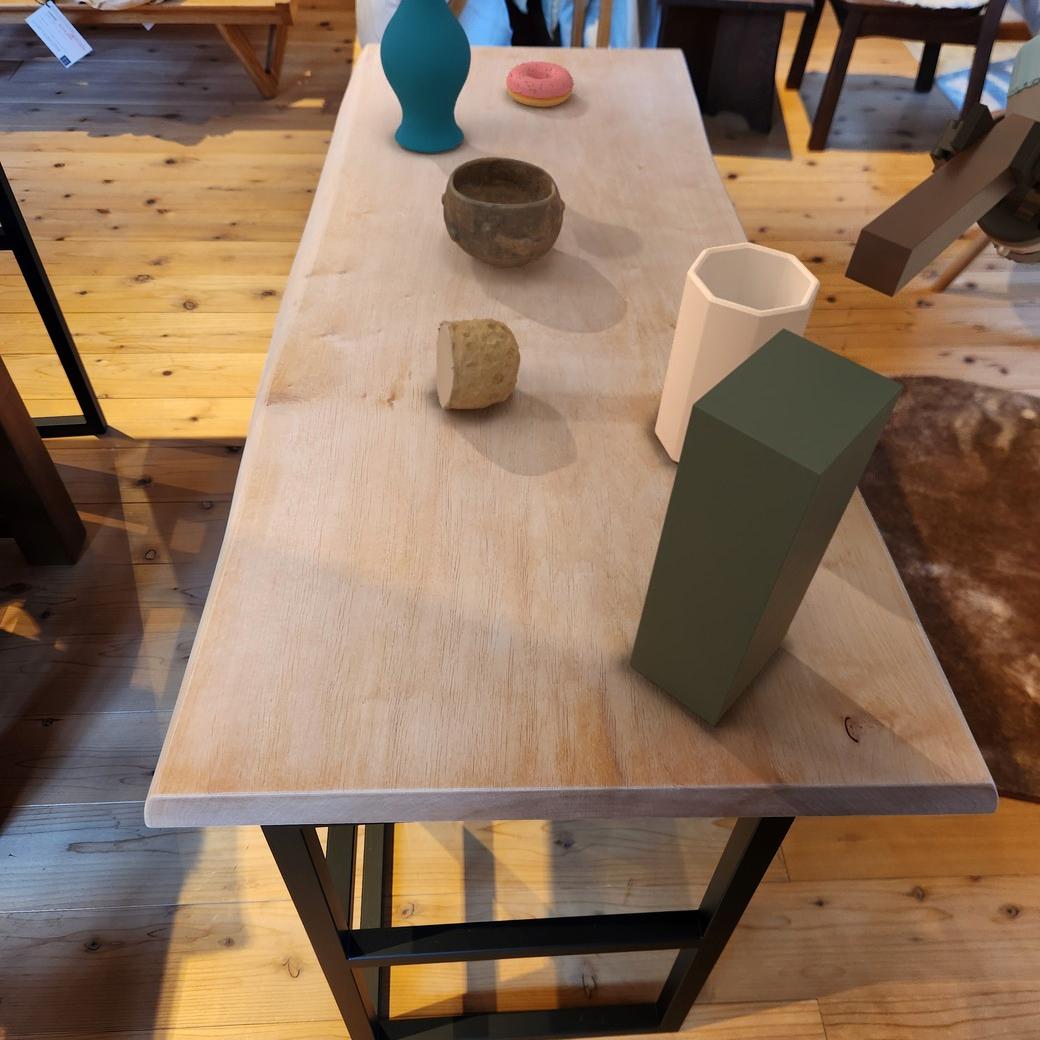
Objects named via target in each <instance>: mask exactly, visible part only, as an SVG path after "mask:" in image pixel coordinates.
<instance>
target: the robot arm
mask: <svg viewBox="0 0 1040 1040" xmlns="http://www.w3.org/2000/svg"><path fill="white" fill-rule="evenodd" d="M1011 113H1015V114H1018V115H1021V116H1024V117H1028V118H1031V119H1034V120H1037V121H1040V34H1038V35H1036V36H1034V37H1032V38H1031V39H1029V40H1027V41H1026V42H1025V43H1024V44H1023V45H1022V46H1021V47H1020V48H1019V50H1018V51H1017V53H1016V55H1015V59H1014V64H1013V66H1012V70H1011V74H1010V80H1009V85H1008V89H1007V93H1006V104H1005V113H1004V118H1006V117H1007V116H1008V115H1009V114H1011ZM1037 121H1035V122H1034V124H1033V126H1032V127H1031V129H1030V131H1029V132H1028V134H1027V136H1026V137H1025V139H1024V141H1023V143H1022V144H1021V146H1020V148H1019V149H1018V151H1017V153H1016V154H1015V156H1014V158H1013V160H1012V161H1011V163H1010V165H1009V167H1010V169H1011V171H1012V174H1013V176H1014V178H1015V180H1016V183H1017V186H1015V187H1014V188H1013V189H1012V190H1011V191H1010V192H1009V193H1008V194H1007V195H1005V196H1004V197H1003V198H1002V199H1001V200H1000V201H999V202H998V203H997V204H995V205H994V206H993V207H992V208H991V209H990V210H989V211H988V212H987V213H985V214H984V215H983V216H982V217H981V218H980V219H979V220H978V221H977V222H976V224H977V225H978V227H979V228H980V229H981V231H982V232H983V233H984V234H985V236H987V237H988V238H989V240H990V241H991V243H992V245H993V248H994V249H995V251H996V254H997V255H998V256H1000V257H1003V258H1005V259H1006V260H1007V261H1013V262H1014V263H1016V264H1023V265H1029V266H1030V265H1031V266H1034V265H1040V122H1037ZM996 124H997V123H996V122H995V120H994V118H993V115H992V112H991V111H990V108H989V106H988V105H987V104H984V103H981V102H977V101H974V104H973V106H972V107H971V109H970V111H969V112H968V114H967V116H966V118H965V120H961V121H960V120H957V119H954V118H953V119H948V120H947V122H946V123H945V125H944V127H943V129H942V131H941V132H940V134H939V136H938V138H937V139H936V141H935V144H934V145H933V147H932V148H931V150H930V152H929V157H930V158H931V161H932V163H933V165H934V166H933V168H932V170H931V173H932V174H933V173H935V172H936V171H937V170H938V169H940V168H941V167H942V166H944V165H945V164H946V163H947V162H949V161H950V160H951V159H953V158H954V157H955V156H957V155H958V154H959V153H960V152H962V151H963V150H964V149H966V148H967V147H968V146H969V145H971V144H972V143H973V142H975V141H976V140H977V139H978V138H980V137H981V136H982V135H984V134H985V133H986V132H987V131H989V130H990V129H991V128H993V127H994V126H995V125H996Z"/></svg>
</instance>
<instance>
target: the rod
mask: <svg viewBox="0 0 1040 1040" xmlns="http://www.w3.org/2000/svg"><path fill="white" fill-rule="evenodd" d="M1035 121H1037V120H1034V119H1031V118H1028V117H1024V116H1021V115H1018V114H1015V113H1011V114H1009V115H1008V116H1007V117H1006V118H1005V117H1004V118H1003V119H1001V120H1000V121H999V122H997V123H995V124H996V125H995V126H994V127H993V128H991V129H990V130H989V131H987V132H986V133H985V134H984V135H982V136H981V137H980V138H978V139H977V140H976V141H975V142H973V143H972V144H971V145H969V146H968V147H967V148H966V149H964V150H963V151H962V152H960V153H959V154H958V155H957V156H955V157H954V158H953V159H951V160H950V161H949V162H947V163H946V164H945V165H944V166H942V167H941V168H940V169H938V170H937V171H936V172H935V173H932V174H930V176H928V177H926V178H925V179H924V180H923V181H921V182H920V183H919V184H918V185H916V186H914V188H912V189H911V190H910V191H909V192H907V193H906V194H905V195H904V196H902V197H901V198H900V199H898V200H897V201H896V202H894V203H893V204H892V205H891V206H889V207H888V208H887V209H886V210H884V211H883V212H882V213H880V214H879V215H878V216H876V217H875V218H873V220H871V221H870V222H869V223H867V224H866V225H864V226H863V227H862V228H861V230H860V232H859V235H858V236H857V237H858V238H857V240H856V243H855V246H854V249H853V252H852V254H851V256H850V259H849V262H848V265H847V267H846V271H845V273H844V277H845V278H847V279H849V280H851V281H854V282H855V283H858V284H860V285H863V286H865V287H867V288H870V289H872V290H874V291H875V292H879V293H881V294H884V295H885V296H888V297H890V298H893V297H894V296H896V295H897V294H898V293H899V292H900V291H901V290H903V288H905V287H906V286H907V285H908V284H909V283H910V282H911V281H912V280H913V279H915V278H916V277H917V276H918V275H919V274H920V273H921V272H922V271H923V270H924V269H926V268H927V267H928V266H929V265H930V264H931V263H932V262H933V261H935V259H937V258H938V257H939V256H940V255H941V254H942V253H943V252H944V251H946V250H947V249H948V248H949V247H950V246H951V245H952V244H953V243H955V242H956V240H958V239H959V238H960V237H961V236H962V235H963V234H965V232H967V231H969V229H970V228H971V227H972V226H973V225H974V224H976V223H977V221H978V220H979V219H980V218H981V217H982V216H983V215H984V214H985V213H987V212H988V211H989V210H990V209H991V208H992V207H993V206H994V205H995V204H997V203H998V202H999V201H1000V200H1001V199H1002V198H1003V197H1004V196H1005V195H1007V194H1008V193H1009V192H1010V191H1011V190H1012V189H1013V188H1014V187H1015V186H1017V183H1016V180H1015V178H1014V176H1013V174H1012V171H1011V169H1010V167H1009V165H1010V163H1011V161H1012V160H1013V158H1014V156H1015V154H1016V153H1017V151H1018V149H1019V148H1020V146H1021V144H1022V143H1023V141H1024V139H1025V137H1026V136H1027V134H1028V132H1029V131H1030V129H1031V127H1032V126H1033V124H1034V122H1035ZM1037 122H1040V121H1037Z"/></svg>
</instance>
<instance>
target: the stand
mask: <svg viewBox="0 0 1040 1040" xmlns="http://www.w3.org/2000/svg"><path fill="white" fill-rule="evenodd" d="M904 388H905V385H904V384H902V383H900V382H897V381H896V380H894V379H891V378H889V377H887V376H885V375H883V374H880V373H878V372H876V371H874V370H872V369H870V368H867V367H865V366H863V365H862V364H860V363H858V362H855V361H853V360H851V359H849V358H847V357H844V356H842V355H841V354H839V353H836V352H834V351H832V350H830V349H828V348H826V347H825V346H822V345H819V344H818V343H816V342H814V341H811V340H810V339H807V338H805V337H804V336H803V337H801V336H799V335H797V334H795V333H792V332H790V331H788V330H786V329H784V328H783V329H782V330H781V331H779V332H778V333H777V334H776V335H775V336H773V337H772V338H771V339H770V340H769V341H768V342H766V343H765V344H764V345H763V346H762V347H760V348H759V349H758V350H757V351H756V352H755V353H753V354H752V355H751V356H750V357H749V358H747V359H746V360H745V361H744V362H743V363H741V364H740V365H739V366H738V367H737V368H736V369H734V370H733V371H732V372H731V373H730V374H728V375H727V376H726V377H725V378H724V379H722V380H721V381H720V382H719V383H718V384H717V385H715V386H714V387H713V388H712V389H711V390H709V391H708V392H707V393H706V394H705V395H703V396H702V397H701V398H700V399H699V400H698V401H696V402H695V403H694V404H693V406H692V410H691V414H690V418H689V422H688V426H687V430H686V435H685V439H684V443H683V447H682V451H681V455H680V459H679V462H677V463H678V464H677V467H676V472H675V475H674V480H673V483H672V488H671V491H670V492H671V493H670V497H669V500H668V505H667V507H666V513H665V517H664V521H663V526H662V529H661V534H660V538H659V541H658V546H657V549H656V554H655V557H654V558H655V559H654V562H653V566H652V571H651V575H650V577H649V582H648V587H647V590H646V595H645V599H644V603H643V607H642V610H641V614H640V619H639V623H638V628H637V631H636V636H635V639H634V643H633V648H632V652H631V655H630V659H629V660H630V661H629V664H628V665H629V666H630V667H632V668H633V669H634V670H636V671H637V672H638V673H640V674H641V675H642V676H644V677H645V678H647V679H648V680H649V681H651V682H652V683H654V685H657V686H658V687H659V688H660V689H662V690H663V691H664V692H666V693H667V694H669V695H670V696H671V697H672V698H674V699H675V700H677V701H678V702H679V703H681V704H682V705H683V706H685V707H686V708H687V709H689V710H690V711H692V712H693V713H694V714H696V715H697V716H698V717H700V718H701V719H702V720H704V721H705V722H707V723H708V724H710V725H711V726H712V727H715V726H716V725H717V724H718V723H719V722H720V720H721V719H722V717H724V715H725V714H726V713H727V712H728V710H729V709H730V708H731V707H732V706H733V704H734V703H735V702H736V701H737V700H738V698H739V697H740V696H741V695H742V694H743V692H744V691H745V690H746V688H747V687H748V686H749V685H750V684H751V682H752V681H753V680H754V679H755V677H756V676H757V675H758V674H759V673H760V671H761V670H762V669H763V668H764V667H765V666H766V664H767V663H768V662H769V661H770V659H771V658H772V656H773V655H774V654H775V653H776V652H777V651H778V649H780V647H781V646H782V644H783V642H784V640H785V637H786V635H787V633H788V631H789V629H790V627H791V625H792V624H793V621H794V619H795V617H796V615H797V612H798V610H799V608H800V607H801V604H802V602H803V600H804V598H805V596H806V594H807V592H808V589H809V588H810V585H811V583H812V581H813V579H814V577H815V575H816V572H817V570H818V569H819V566H820V564H821V562H822V560H823V558H824V557H825V554H826V552H827V550H828V548H829V546H830V543H831V542H832V539H833V538H834V535H835V532H837V528H838V526H839V524H840V523H841V520H842V518H843V516H844V514H845V512H846V511H847V508H848V505H849V504H850V502H851V500H852V497H853V495H854V493H855V491H856V489H857V487H858V485H859V482H860V480H861V479H862V477H863V474H864V472H865V470H866V468H867V466H868V464H869V462H870V459H871V457H872V456H873V453H874V452H875V450H876V447H877V445H878V443H879V441H880V440H881V439H880V438H881V437H882V435H883V433H884V430H885V428H886V426H887V424H888V422H889V421H890V420H889V419H890V418H891V416H892V413H893V411H894V410H895V407H896V405H897V403H898V401H899V399H900V396H901V394H902V392H903V391H904Z"/></svg>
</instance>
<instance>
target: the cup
mask: <svg viewBox="0 0 1040 1040" xmlns="http://www.w3.org/2000/svg"><path fill="white" fill-rule="evenodd" d="M820 287H821V282H820V280H819V279H818V278H817V277H816V276H815V275H814V274H813V273H812V272H811V271H810V270H809V269H808V268H807V267H806V266H805V265H804V264H803V263H802V262H801V261H800V259H799V258H798V257H797V256H796V255H794V254H793V253H789V252H785V251H781V250H777V249H774V248H770V247H767V246H763V245H759V244H756V243H753V242H740V243H733V244H727V245H720V246H719V245H718V246H713V247H708V248H705V249H703V250H702V251H701V253H699V255H698V256H697V258H696V260H694V262H693V264H691V266H690V267H689V269H688V271H687V273H686V278H685V282H684V288H683V292H682V293H683V294H682V297H681V303H680V308H679V311H678V318H677V321H676V326H675V331H674V337H673V339H672V340H673V341H672V344H671V345H672V346H671V349H670V350H671V351H670V355H669V361H668V365H667V370H666V374H665V379H664V385H663V390H662V394H661V399H660V403H659V404H660V405H659V407H658V408H659V409H658V413H657V418H656V423H655V427H654V433H655V435H656V436H657V438H658V439H659V442H660V443H661V444H662V446H663V448H664V449H665V451H666V452H667V454H668V456H669V457H670V459H671V460H672V461H673V462H676V463H679V459H680V455H681V451H682V447H683V443H684V439H685V435H686V430H687V426H688V422H689V418H690V414H691V410H692V406H693V404H694V403H695V402H696V401H698V400H699V399H700V398H701V397H702V396H703V395H705V394H706V393H707V392H708V391H709V390H711V389H712V388H713V387H714V386H715V385H717V384H718V383H719V382H720V381H721V380H722V379H724V378H725V377H726V376H727V375H728V374H730V373H731V372H732V371H733V370H734V369H736V368H737V367H738V366H739V365H740V364H741V363H743V362H744V361H745V360H746V359H747V358H749V357H750V356H751V355H752V354H753V353H755V352H756V351H757V350H758V349H759V348H760V347H762V346H763V345H764V344H765V343H766V342H768V341H769V340H770V339H771V338H772V337H773V336H775V335H776V334H777V333H778V332H779V331H781V330H782V329H783V328H784V329H786V330H788V331H790V332H792V333H795V334H797V335H799V336H801V337H803V338H804V334H805V331H806V329H807V325H808V322H809V320H810V316H811V313H812V311H813V308H814V304H815V302H816V299H817V295H818V293H819V290H820Z"/></svg>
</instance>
